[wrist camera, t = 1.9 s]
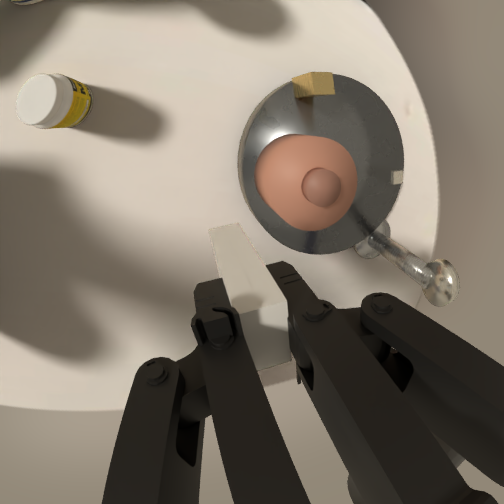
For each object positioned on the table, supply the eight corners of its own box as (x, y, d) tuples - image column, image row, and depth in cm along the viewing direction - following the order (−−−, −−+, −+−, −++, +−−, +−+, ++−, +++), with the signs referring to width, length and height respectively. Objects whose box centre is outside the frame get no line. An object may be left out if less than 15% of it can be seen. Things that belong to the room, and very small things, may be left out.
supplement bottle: (102, 92, 20) (73, 80, 13) (79, 134, 21) (43, 140, 14) (67, 76, 18) (30, 61, 11) (45, 117, 19) (3, 119, 12)
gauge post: (352, 260, 37) (427, 329, 23) (353, 220, 34) (442, 281, 20) (385, 250, 38) (459, 308, 24) (387, 212, 35) (474, 263, 21)
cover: (260, 220, 27) (282, 246, 22) (248, 139, 23) (270, 144, 18) (331, 204, 29) (364, 225, 23) (326, 130, 25) (363, 135, 19)
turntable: (252, 263, 32) (269, 294, 26) (223, 82, 23) (237, 69, 17) (389, 227, 35) (420, 245, 30) (385, 80, 26) (423, 79, 20)
